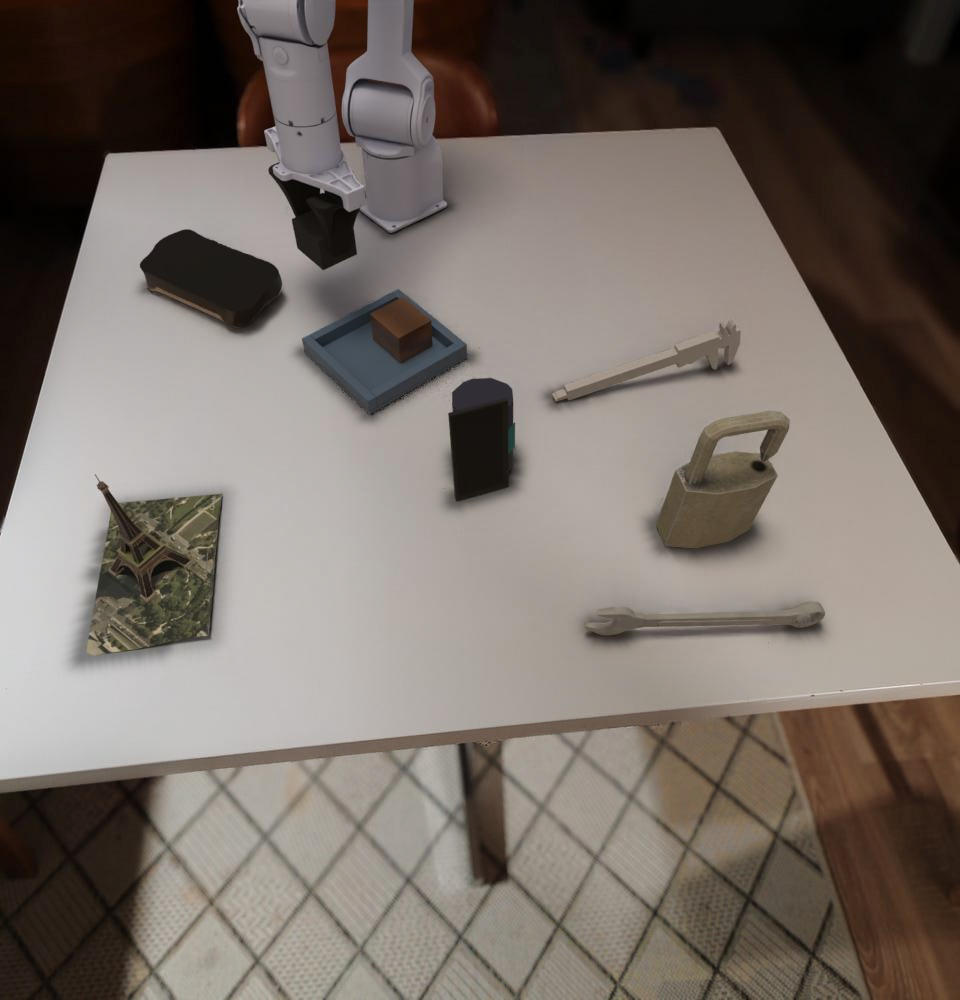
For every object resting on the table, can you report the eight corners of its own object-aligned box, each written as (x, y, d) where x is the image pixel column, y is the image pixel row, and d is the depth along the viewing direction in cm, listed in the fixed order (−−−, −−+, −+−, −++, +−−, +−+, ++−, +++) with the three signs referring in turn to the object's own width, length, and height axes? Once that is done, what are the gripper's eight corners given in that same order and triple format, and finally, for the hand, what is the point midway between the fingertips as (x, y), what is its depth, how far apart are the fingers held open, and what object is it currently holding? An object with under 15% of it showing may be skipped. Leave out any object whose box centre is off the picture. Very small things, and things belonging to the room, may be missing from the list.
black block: (331, 233, 85) (326, 203, 82) (357, 254, 82) (353, 225, 80) (297, 248, 83) (291, 218, 80) (323, 270, 81) (318, 241, 78)
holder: (399, 302, 89) (398, 288, 87) (467, 358, 84) (467, 344, 82) (304, 352, 84) (301, 338, 82) (369, 414, 78) (367, 401, 77)
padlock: (752, 537, 70) (812, 428, 58) (668, 553, 69) (711, 444, 57) (734, 503, 72) (788, 390, 60) (652, 518, 71) (691, 406, 59)
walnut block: (404, 322, 86) (402, 296, 83) (432, 345, 84) (431, 320, 81) (372, 339, 84) (369, 313, 81) (400, 364, 82) (398, 338, 79)
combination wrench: (830, 596, 63) (588, 600, 62) (835, 610, 62) (590, 615, 61) (812, 617, 66) (581, 622, 65) (816, 631, 65) (583, 636, 64)
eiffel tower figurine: (213, 641, 63) (162, 554, 52) (85, 656, 62) (6, 571, 51) (222, 496, 72) (181, 396, 61) (110, 507, 71) (48, 407, 60)
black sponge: (294, 295, 89) (288, 269, 86) (245, 337, 85) (237, 311, 82) (189, 250, 94) (180, 224, 91) (137, 288, 89) (126, 261, 86)
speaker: (516, 501, 72) (516, 417, 64) (454, 502, 72) (447, 419, 64) (514, 444, 77) (514, 361, 69) (456, 445, 77) (450, 362, 69)
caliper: (726, 359, 84) (743, 314, 79) (731, 366, 84) (748, 321, 78) (551, 396, 80) (557, 351, 75) (555, 404, 80) (561, 359, 75)
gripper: (226, 94, 72) (256, 222, 83) (311, 159, 66) (332, 288, 77) (290, 72, 75) (312, 199, 86) (378, 132, 69) (389, 261, 80)
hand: (325, 240), depth 82 cm, fingers closed on black block, 5 cm apart
